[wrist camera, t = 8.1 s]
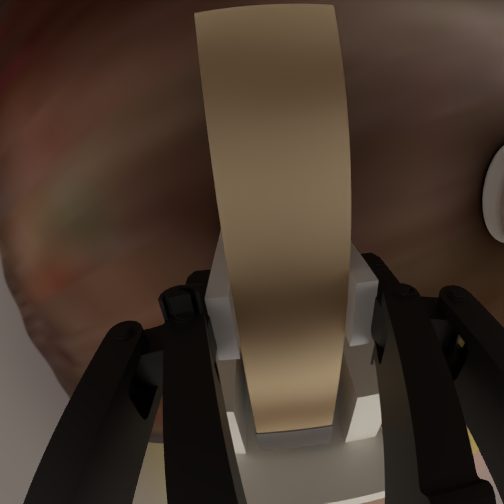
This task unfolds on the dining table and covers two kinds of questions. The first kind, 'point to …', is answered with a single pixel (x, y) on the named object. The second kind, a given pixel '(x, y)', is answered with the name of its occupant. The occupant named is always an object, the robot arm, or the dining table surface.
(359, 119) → the dining table surface
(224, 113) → the rail
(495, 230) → the white cup
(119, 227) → the dining table surface
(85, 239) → the dining table surface
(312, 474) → the white u-channel bracket
